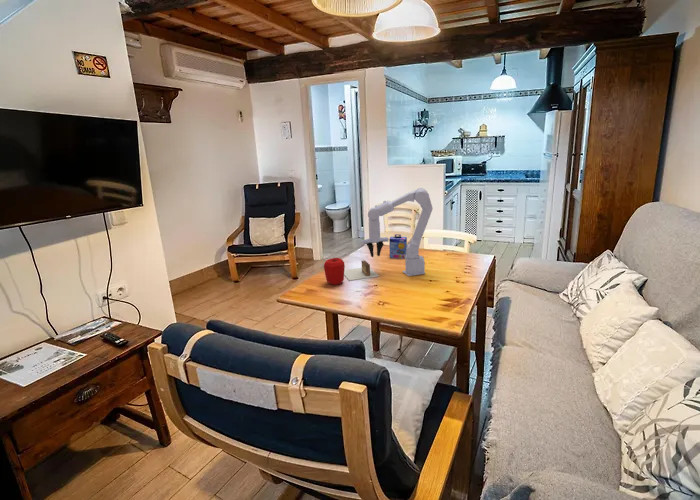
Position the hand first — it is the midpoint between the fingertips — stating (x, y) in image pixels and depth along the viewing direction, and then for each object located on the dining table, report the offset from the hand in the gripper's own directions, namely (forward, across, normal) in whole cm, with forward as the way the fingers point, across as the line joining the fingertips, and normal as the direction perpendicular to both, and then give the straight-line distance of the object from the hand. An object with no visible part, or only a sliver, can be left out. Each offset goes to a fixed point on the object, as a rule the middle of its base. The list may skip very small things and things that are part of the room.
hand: (375, 256), depth 202 cm
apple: (+10, +24, +6) cm, 26 cm away
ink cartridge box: (+10, -22, -21) cm, 32 cm away
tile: (+9, +6, 0) cm, 10 cm away
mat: (+9, +8, -2) cm, 13 cm away
